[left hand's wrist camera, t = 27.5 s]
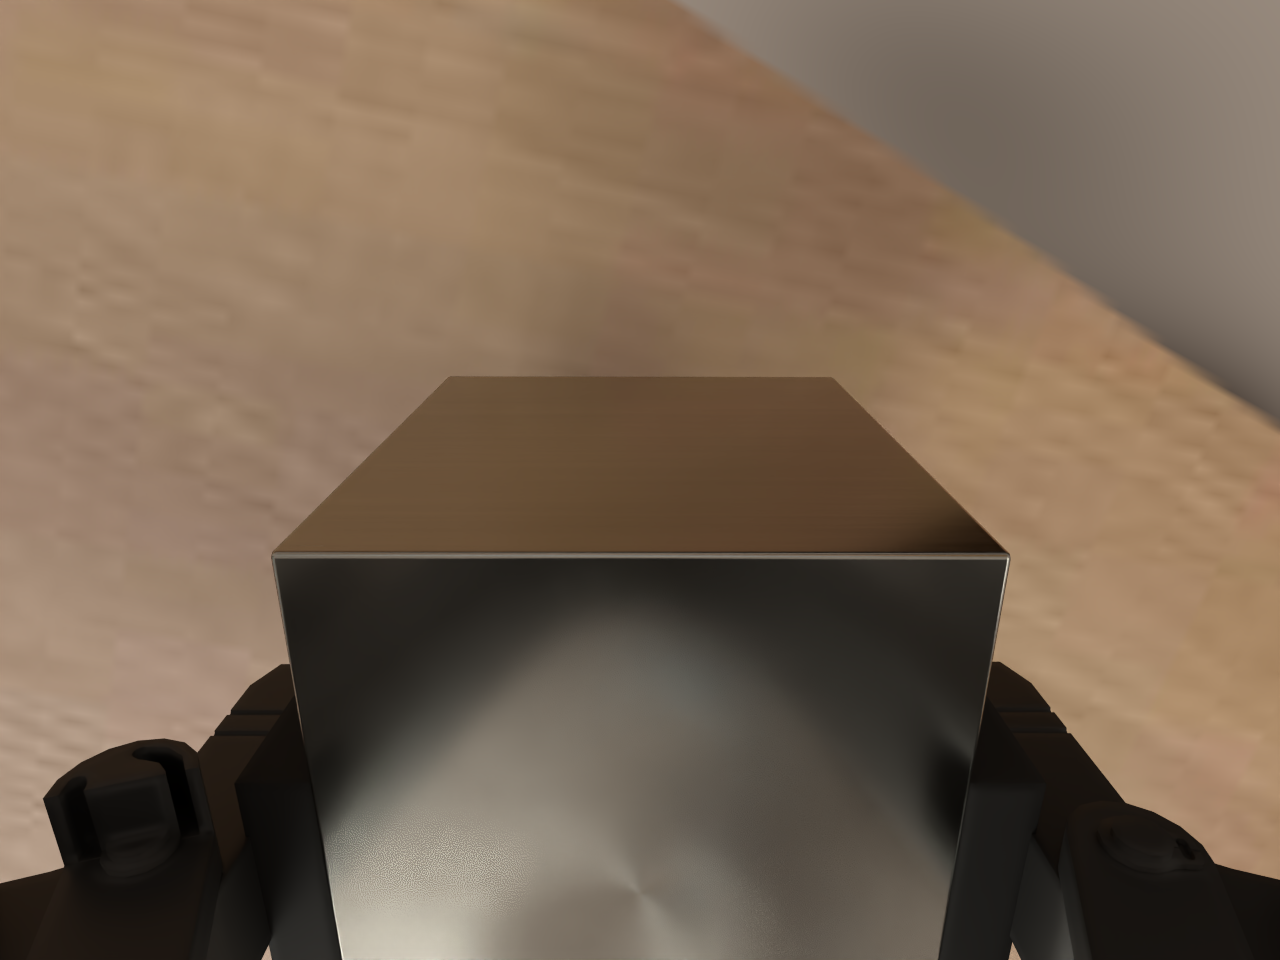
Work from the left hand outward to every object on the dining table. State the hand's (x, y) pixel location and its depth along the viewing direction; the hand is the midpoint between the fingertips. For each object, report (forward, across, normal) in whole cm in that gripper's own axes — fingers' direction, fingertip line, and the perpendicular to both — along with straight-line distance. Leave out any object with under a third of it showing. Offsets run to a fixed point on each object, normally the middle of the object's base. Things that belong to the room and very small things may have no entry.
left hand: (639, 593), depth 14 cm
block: (0, 0, 0) cm, 0 cm away
